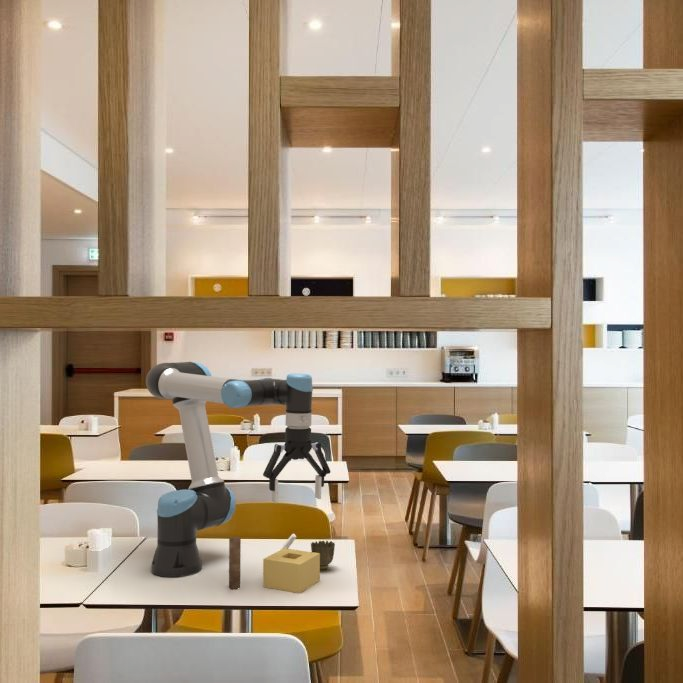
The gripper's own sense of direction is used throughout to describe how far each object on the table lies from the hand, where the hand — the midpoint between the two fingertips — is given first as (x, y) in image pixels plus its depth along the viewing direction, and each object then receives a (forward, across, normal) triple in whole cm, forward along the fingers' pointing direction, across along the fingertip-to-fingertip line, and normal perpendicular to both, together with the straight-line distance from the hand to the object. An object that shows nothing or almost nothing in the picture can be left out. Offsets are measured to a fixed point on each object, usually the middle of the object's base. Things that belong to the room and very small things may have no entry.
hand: (296, 500), depth 211 cm
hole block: (+24, -1, -1) cm, 24 cm away
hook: (+25, +3, +17) cm, 30 cm away
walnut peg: (+24, -17, +3) cm, 30 cm away
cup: (+24, +12, +8) cm, 28 cm away
